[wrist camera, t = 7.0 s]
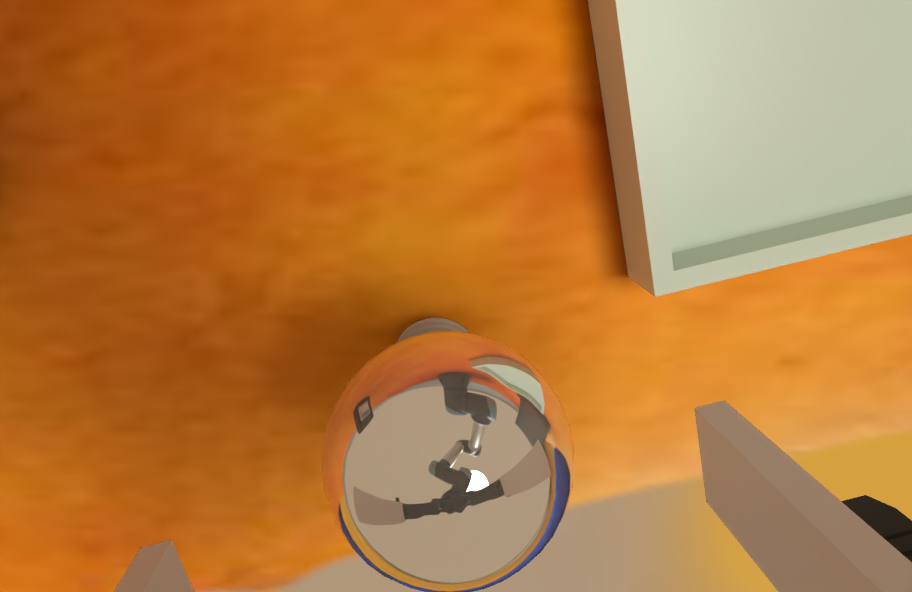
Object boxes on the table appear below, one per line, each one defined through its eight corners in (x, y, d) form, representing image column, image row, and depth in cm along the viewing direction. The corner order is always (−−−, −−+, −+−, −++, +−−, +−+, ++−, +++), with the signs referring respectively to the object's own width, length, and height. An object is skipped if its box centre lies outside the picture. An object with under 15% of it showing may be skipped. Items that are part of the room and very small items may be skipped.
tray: (628, 276, 25) (655, 296, 22) (573, -97, 21) (598, -127, 18) (949, 198, 25) (1013, 209, 22) (957, -188, 21) (1038, -232, 18)
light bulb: (510, 251, 24) (604, 379, 13) (524, 408, 26) (617, 638, 15) (335, 275, 24) (271, 427, 12) (364, 431, 26) (331, 683, 15)
